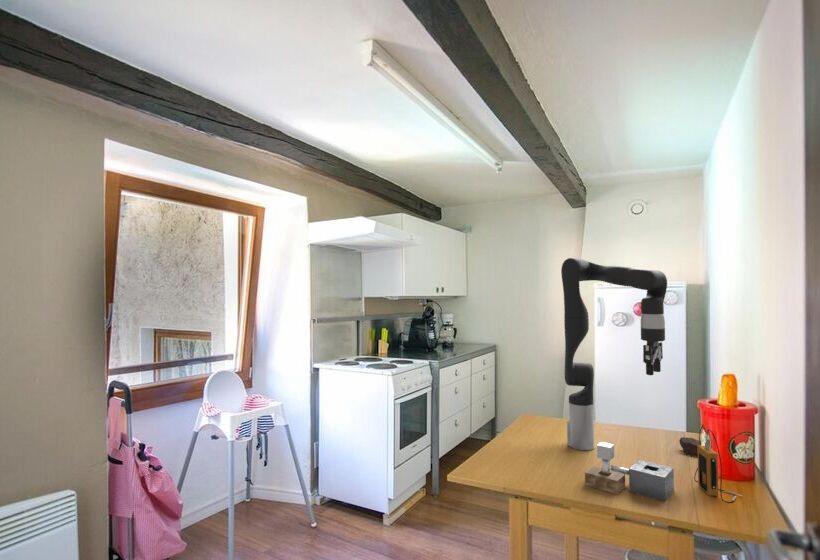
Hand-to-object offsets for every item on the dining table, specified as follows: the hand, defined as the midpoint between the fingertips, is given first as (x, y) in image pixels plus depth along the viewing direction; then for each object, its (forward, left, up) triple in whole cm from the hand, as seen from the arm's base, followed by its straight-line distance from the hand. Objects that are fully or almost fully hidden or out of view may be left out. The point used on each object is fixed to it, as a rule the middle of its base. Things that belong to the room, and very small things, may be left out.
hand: (653, 373), depth 159 cm
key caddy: (-8, -26, -33) cm, 43 cm away
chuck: (0, -20, -33) cm, 39 cm away
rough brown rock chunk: (+7, +26, -34) cm, 43 cm away
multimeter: (+20, -7, -33) cm, 40 cm away
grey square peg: (-8, -26, -32) cm, 42 cm away
